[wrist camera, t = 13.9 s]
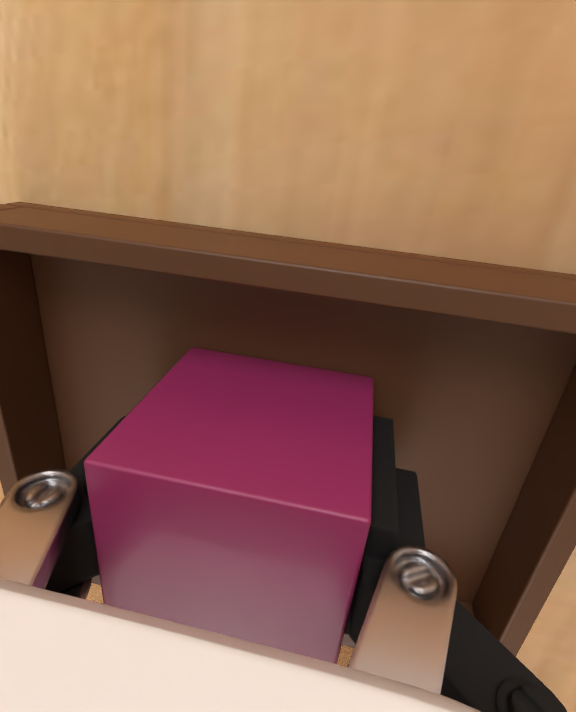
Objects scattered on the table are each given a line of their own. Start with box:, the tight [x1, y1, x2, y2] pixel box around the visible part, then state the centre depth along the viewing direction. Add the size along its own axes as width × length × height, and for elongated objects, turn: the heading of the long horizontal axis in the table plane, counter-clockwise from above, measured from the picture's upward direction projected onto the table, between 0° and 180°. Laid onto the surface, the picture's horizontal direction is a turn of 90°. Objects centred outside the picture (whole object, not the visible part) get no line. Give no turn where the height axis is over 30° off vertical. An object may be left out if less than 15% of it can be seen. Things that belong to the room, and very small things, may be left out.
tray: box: [0, 202, 576, 657], centre depth 12 cm, size 15×11×3 cm
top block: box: [84, 347, 374, 664], centre depth 11 cm, size 5×5×5 cm
